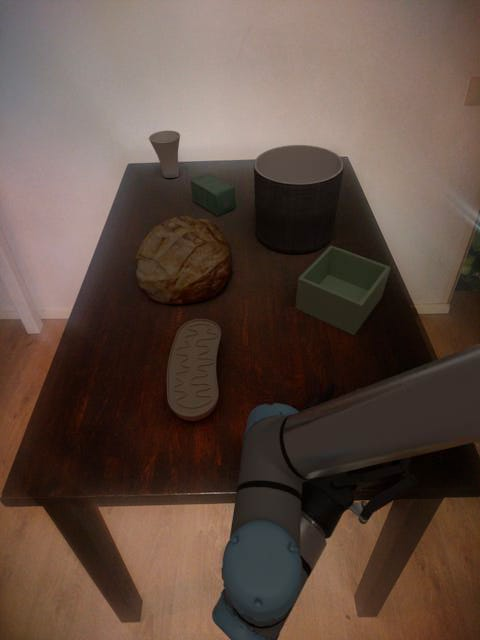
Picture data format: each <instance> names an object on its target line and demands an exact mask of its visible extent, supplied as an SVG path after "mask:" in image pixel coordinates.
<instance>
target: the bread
mask: <svg viewBox="0 0 480 640" xmlns="http://www.w3.org/2000/svg"><path fill="white" fill-rule="evenodd" d="M134 259H135V264H136V266H137V269H136V270H135V271H136V272H135V275H136V279H137V282H138V285H139V287H140V288H141V289H143V291H144V292H145V293H146V294H147V297H148V298H149V299H151V300H153V301H155V302H157V303H159V304H167V305H187V304H192V303H199V302H203V301H206V300H209V299H212V298H214V297H215V296H218V295H219V294H220V293H222V292H223V291H224V290H226V288H228V284H229V283H230V282H229V281H230V280H231V277H232V274H235V272H234V271H233V268H232V266H233V251H232V247H231V245H230V243H229V240H228V238H227V237H226V236H225V234H224V233H223V231H220V229H219V227H218V226H217V225H216V224H215V223H214V222H213V221H212V220H210V219H206V218H193V217H192V216H189V215H188V214H184V215H180V216H175V217H172V218H169V219H167V220H164V221H162V222H161V223H157V225H155V226H154V227H153V228H152V229H151V231H150V232H149V233H148V234H147V235H146V236H145V238H144V239H143V240H142V242H141V244H140V246H139V248H138V250H137V251H136V253H135V257H134Z"/></svg>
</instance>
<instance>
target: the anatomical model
mask: <svg viewBox="0 0 480 640" xmlns="http://www.w3.org/2000/svg"><path fill="white" fill-rule="evenodd" d="M221 339H222V330H221V328H220V326H219V324H217V323H216V322H215V321H213V320H210V319H208V318H195V319H191V320H189V321H186V322H185V323H183V324H182V325H181V326H180V327H179V329H178V330H177V332H176V334H175V337H174V340H173V343H172V346H171V349H170V353H169V356H168V361H167V369H166V399H167V403H168V406H169V407H170V409H171V411H172V412H173V413H174V415H176V416H177V417H178V418H180V419H182V420H184V421H188V422H197V421H201V420H203V419H205V418H207V417H208V416H210V415H211V414H212V413H213V412H214V410H215V409H216V408H217V404H218V402H219V397H220V392H219V383H218V378H217V377H218V376H217V359H218V353H219V349H220V344H221V341H222V340H221Z"/></svg>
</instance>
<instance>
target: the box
mask: <svg viewBox="0 0 480 640" xmlns="http://www.w3.org/2000/svg"><path fill="white" fill-rule="evenodd" d="M190 188H191V194H192V195H191V197H192V201H193V202H194V203H195V204H197V205H199V206H200V207H202V208H204V209H205V210H207V211H208V212H210V213H212V214H213V215H214V216H216V217H220V216H222V215H224V214H226V213H229V212H230V211H232V210H234V209H235V208H236V189H235V187H234V186H232V185H231V184H229V183H227V182H225V181H223V180H221V179H220V178H219V177H216V176H215V175H213V174H211V173H209V172H208V173H205V174H203V175H199V176H197V177H193V178H192V179H190ZM193 199H194V200H193ZM195 200H196V201H197V202H196V201H195ZM198 202H199V203H198ZM201 204H202V205H201Z"/></svg>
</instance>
